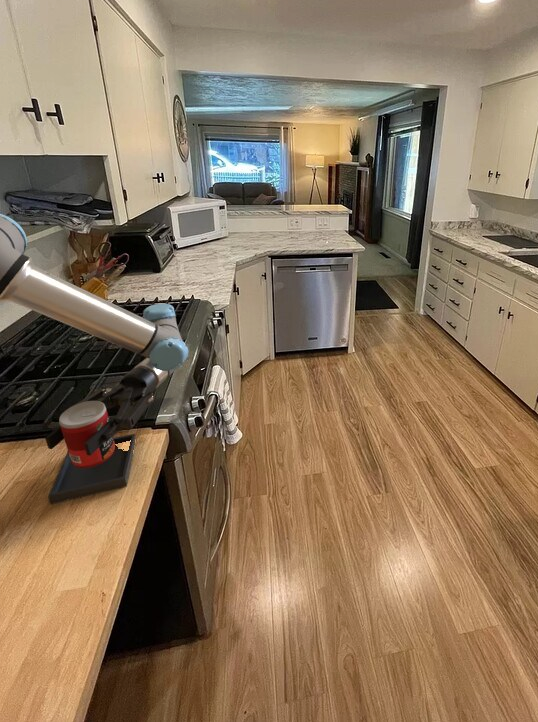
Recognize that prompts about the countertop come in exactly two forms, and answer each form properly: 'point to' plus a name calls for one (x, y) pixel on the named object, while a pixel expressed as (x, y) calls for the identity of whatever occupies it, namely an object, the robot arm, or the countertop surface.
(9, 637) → the countertop surface
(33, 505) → the countertop surface
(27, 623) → the countertop surface
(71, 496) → the tray
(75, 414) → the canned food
